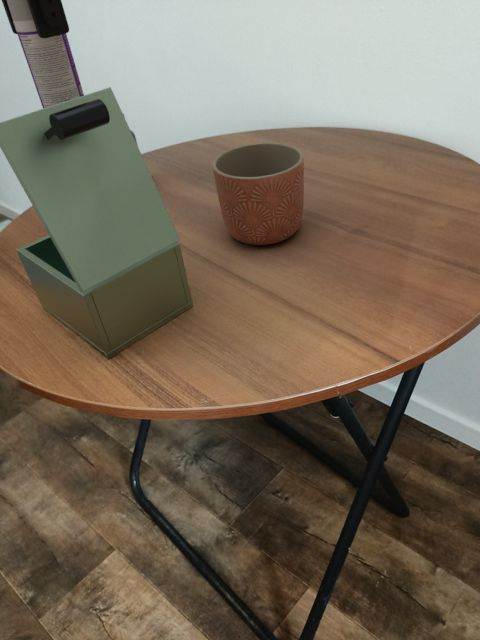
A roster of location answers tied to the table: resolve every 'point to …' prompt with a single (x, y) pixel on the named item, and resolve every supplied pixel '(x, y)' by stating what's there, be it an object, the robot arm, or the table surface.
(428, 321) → the table surface
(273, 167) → the planter
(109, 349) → the box base
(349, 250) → the table surface
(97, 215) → the green box lid
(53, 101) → the container
